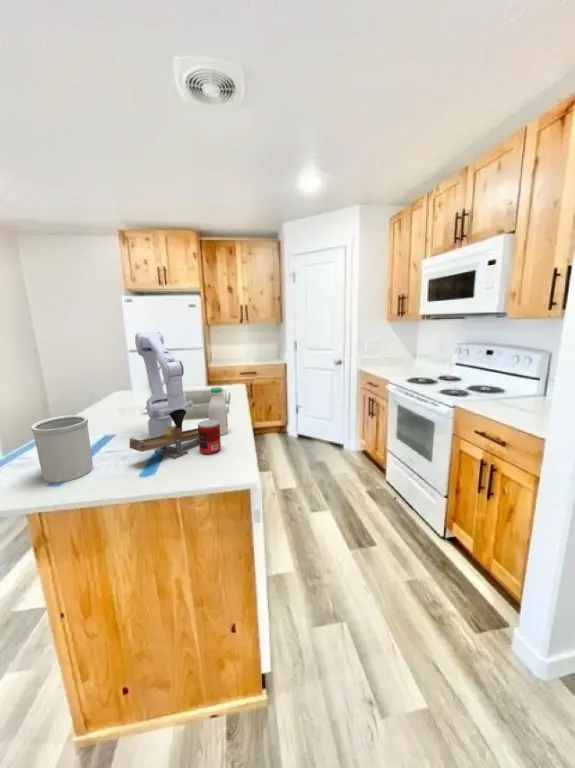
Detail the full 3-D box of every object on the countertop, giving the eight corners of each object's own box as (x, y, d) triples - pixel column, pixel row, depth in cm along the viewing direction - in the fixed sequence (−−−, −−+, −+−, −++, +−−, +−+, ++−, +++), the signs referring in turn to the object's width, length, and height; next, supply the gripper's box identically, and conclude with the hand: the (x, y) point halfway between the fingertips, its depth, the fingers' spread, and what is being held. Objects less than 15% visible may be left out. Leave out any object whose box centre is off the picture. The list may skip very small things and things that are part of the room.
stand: (155, 452, 124) (153, 438, 123) (168, 447, 129) (167, 433, 128) (174, 459, 118) (173, 443, 117) (188, 453, 123) (186, 438, 122)
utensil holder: (62, 487, 99) (53, 431, 96) (29, 479, 104) (19, 426, 101) (104, 466, 113) (98, 417, 109) (73, 460, 118) (66, 413, 114)
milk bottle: (226, 436, 140) (223, 389, 136) (207, 436, 140) (204, 390, 136) (229, 430, 148) (227, 385, 144) (212, 430, 148) (209, 386, 144)
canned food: (223, 446, 129) (221, 419, 126) (217, 455, 121) (215, 426, 119) (204, 446, 129) (202, 419, 127) (196, 454, 122) (194, 426, 119)
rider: (163, 438, 122) (163, 427, 122) (174, 436, 126) (174, 425, 126) (170, 440, 120) (171, 429, 119) (181, 438, 124) (182, 427, 124)
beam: (129, 447, 112) (129, 438, 112) (200, 432, 139) (200, 424, 139) (141, 451, 109) (142, 442, 108) (212, 435, 136) (212, 427, 136)
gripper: (166, 399, 114) (170, 437, 117) (197, 391, 126) (200, 425, 129) (152, 397, 118) (157, 434, 120) (184, 389, 130) (187, 422, 132)
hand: (178, 429), depth 125 cm, fingers closed, pressing on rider
